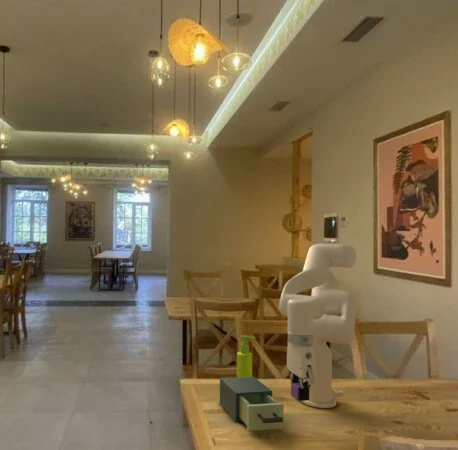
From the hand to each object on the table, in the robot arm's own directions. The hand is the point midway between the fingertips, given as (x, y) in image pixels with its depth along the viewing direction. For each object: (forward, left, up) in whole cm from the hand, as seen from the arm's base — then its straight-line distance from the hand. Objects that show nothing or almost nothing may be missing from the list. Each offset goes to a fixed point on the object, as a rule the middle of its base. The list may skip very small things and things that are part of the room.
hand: (299, 396), depth 130 cm
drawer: (+13, -2, -8) cm, 15 cm away
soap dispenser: (+3, -35, -9) cm, 37 cm away
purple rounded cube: (0, 0, 0) cm, 0 cm away
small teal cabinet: (+13, -13, -9) cm, 21 cm away
